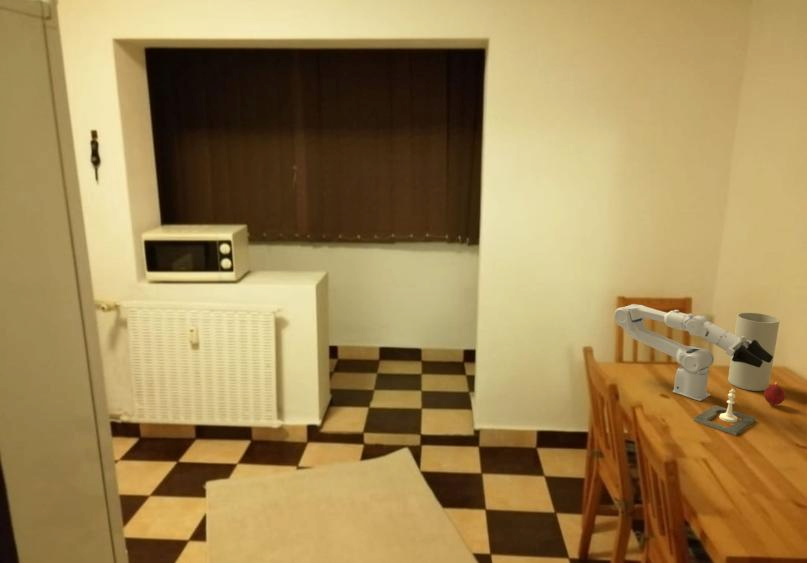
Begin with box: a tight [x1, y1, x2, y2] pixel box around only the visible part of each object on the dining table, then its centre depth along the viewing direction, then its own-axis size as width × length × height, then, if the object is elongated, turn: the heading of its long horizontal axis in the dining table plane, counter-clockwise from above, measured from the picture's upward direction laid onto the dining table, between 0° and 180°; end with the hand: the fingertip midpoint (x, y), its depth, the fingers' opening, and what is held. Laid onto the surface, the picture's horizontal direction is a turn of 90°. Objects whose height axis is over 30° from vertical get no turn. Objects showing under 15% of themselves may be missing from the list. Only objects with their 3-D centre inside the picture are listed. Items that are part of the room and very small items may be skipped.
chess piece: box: [718, 388, 739, 423], centre depth 173 cm, size 5×5×10 cm
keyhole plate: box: [693, 404, 757, 437], centre depth 172 cm, size 14×12×1 cm
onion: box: [763, 382, 786, 406], centre depth 182 cm, size 6×6×8 cm
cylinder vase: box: [727, 312, 780, 392], centre depth 197 cm, size 12×12×25 cm
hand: (766, 362), depth 171 cm, fingers open, 7 cm apart
